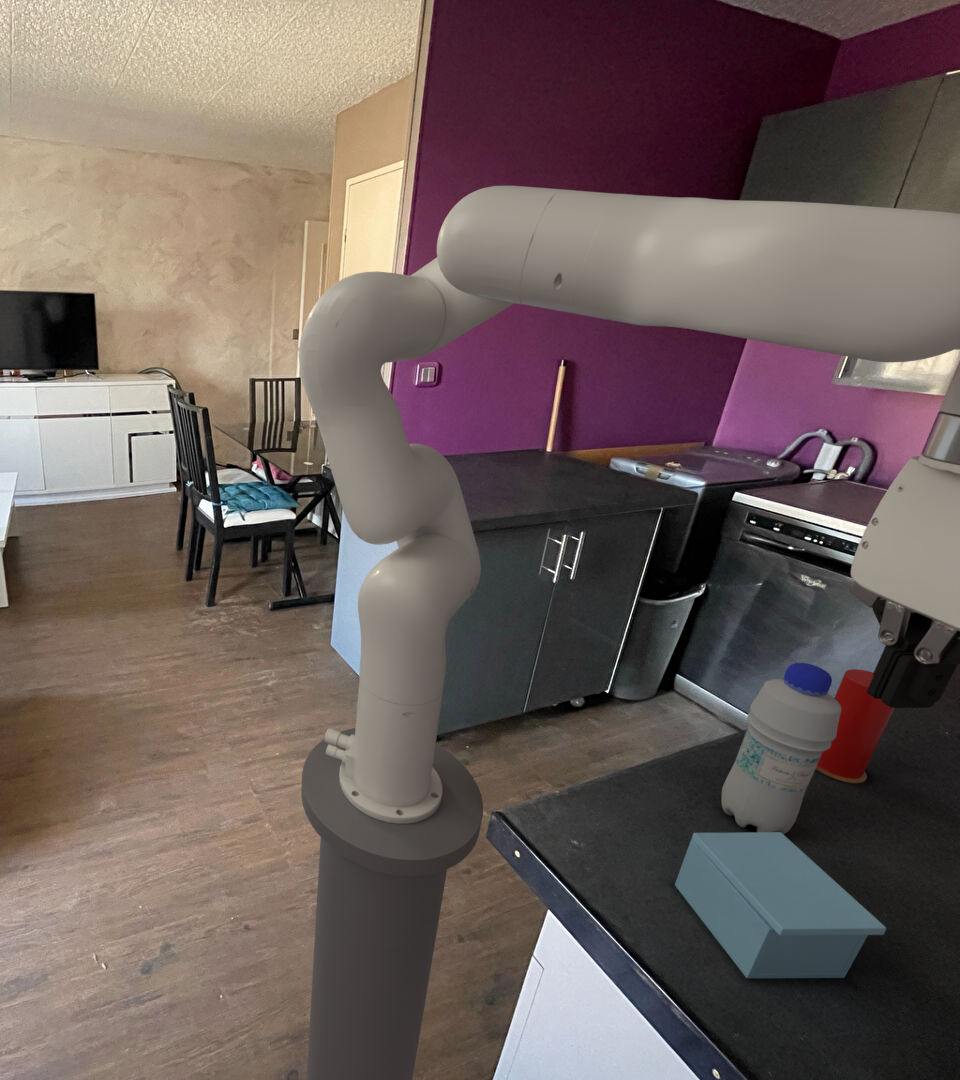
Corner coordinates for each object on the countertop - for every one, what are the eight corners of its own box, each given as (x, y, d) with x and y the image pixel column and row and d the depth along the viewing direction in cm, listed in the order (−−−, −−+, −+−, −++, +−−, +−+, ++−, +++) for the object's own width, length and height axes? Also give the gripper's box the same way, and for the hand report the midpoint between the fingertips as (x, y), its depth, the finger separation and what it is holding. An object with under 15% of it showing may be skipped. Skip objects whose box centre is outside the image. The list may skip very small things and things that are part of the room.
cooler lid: (884, 935, 46) (887, 928, 46) (779, 936, 46) (782, 929, 46) (778, 838, 56) (781, 831, 55) (691, 838, 56) (693, 832, 55)
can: (799, 753, 74) (834, 670, 70) (831, 749, 75) (867, 667, 71) (840, 781, 70) (880, 694, 66) (873, 776, 71) (915, 690, 66)
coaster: (796, 761, 74) (797, 759, 74) (814, 745, 76) (815, 743, 76) (856, 789, 69) (857, 787, 69) (873, 772, 72) (874, 770, 72)
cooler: (844, 978, 49) (871, 928, 47) (746, 978, 49) (769, 929, 47) (758, 884, 58) (778, 838, 56) (674, 885, 58) (690, 839, 56)
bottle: (728, 834, 63) (789, 679, 56) (704, 790, 69) (756, 645, 62) (804, 851, 61) (877, 692, 54) (773, 804, 67) (835, 655, 60)
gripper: (1289, 480, 28) (1093, 777, 35) (940, 427, 42) (848, 646, 49) (1135, 481, 28) (968, 778, 35) (837, 427, 42) (758, 646, 49)
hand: (898, 700), depth 42 cm, fingers closed
